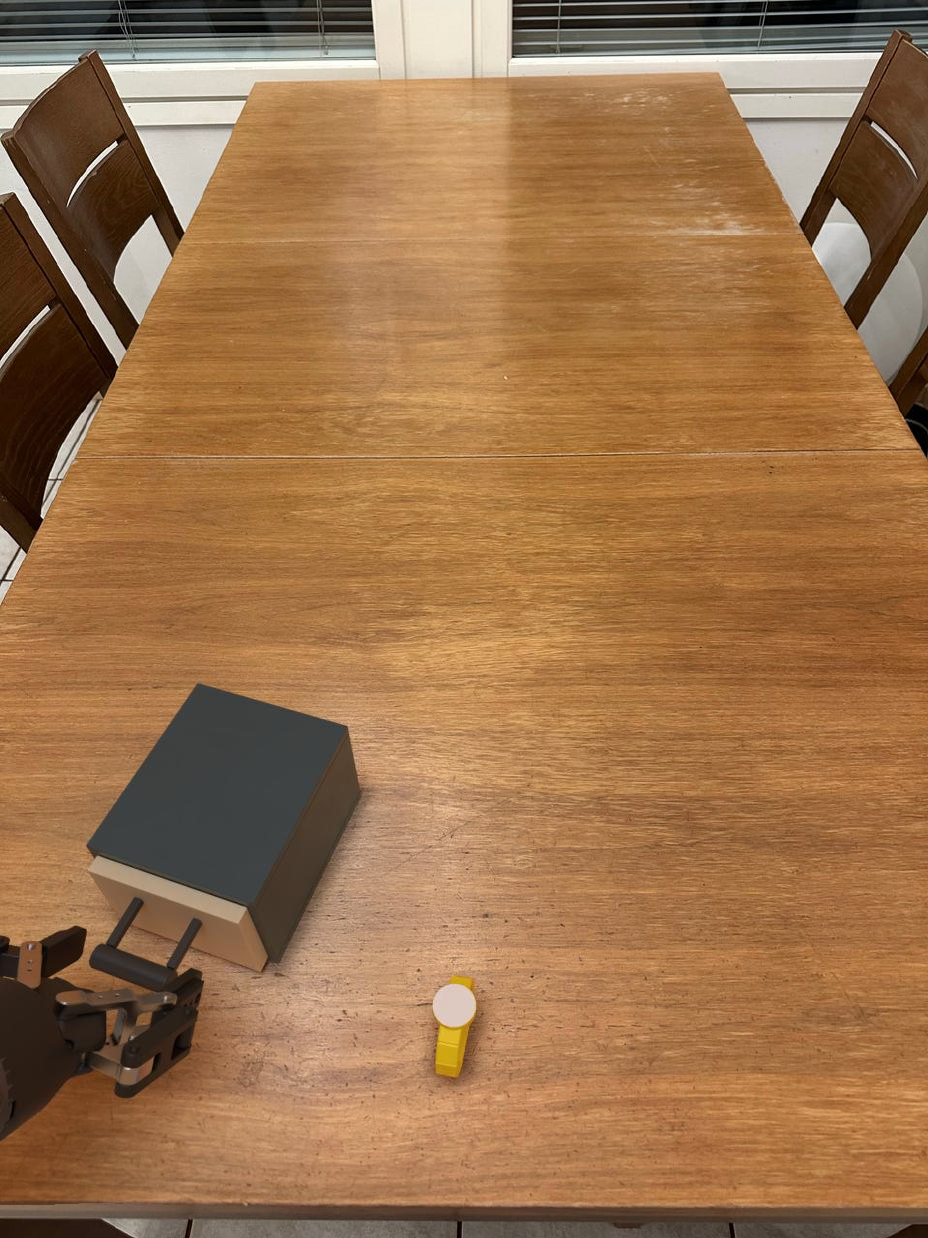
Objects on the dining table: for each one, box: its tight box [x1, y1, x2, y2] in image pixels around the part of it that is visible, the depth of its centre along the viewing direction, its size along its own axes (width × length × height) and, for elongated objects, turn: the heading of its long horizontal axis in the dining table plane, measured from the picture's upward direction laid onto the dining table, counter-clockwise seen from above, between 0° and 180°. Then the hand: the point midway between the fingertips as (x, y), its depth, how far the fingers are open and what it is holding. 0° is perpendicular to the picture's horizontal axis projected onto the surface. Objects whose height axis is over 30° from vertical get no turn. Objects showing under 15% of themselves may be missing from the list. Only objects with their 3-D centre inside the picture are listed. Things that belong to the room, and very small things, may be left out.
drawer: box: [87, 856, 268, 993], centre depth 67 cm, size 18×11×8 cm, turn 160°
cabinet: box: [85, 682, 362, 965], centre depth 70 cm, size 15×13×10 cm
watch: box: [431, 974, 478, 1078], centre depth 61 cm, size 6×3×6 cm, turn 169°
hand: (137, 961), depth 60 cm, fingers open, 8 cm apart
